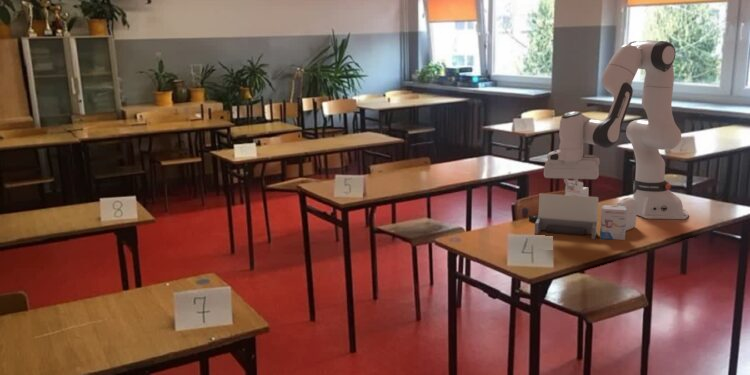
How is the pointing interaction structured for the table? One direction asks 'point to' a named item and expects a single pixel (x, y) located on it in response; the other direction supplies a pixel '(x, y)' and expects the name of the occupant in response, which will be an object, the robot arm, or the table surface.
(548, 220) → the cable channel
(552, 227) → the dark grey bar
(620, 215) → the ink box
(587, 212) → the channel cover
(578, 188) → the ink cartridge box
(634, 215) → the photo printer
